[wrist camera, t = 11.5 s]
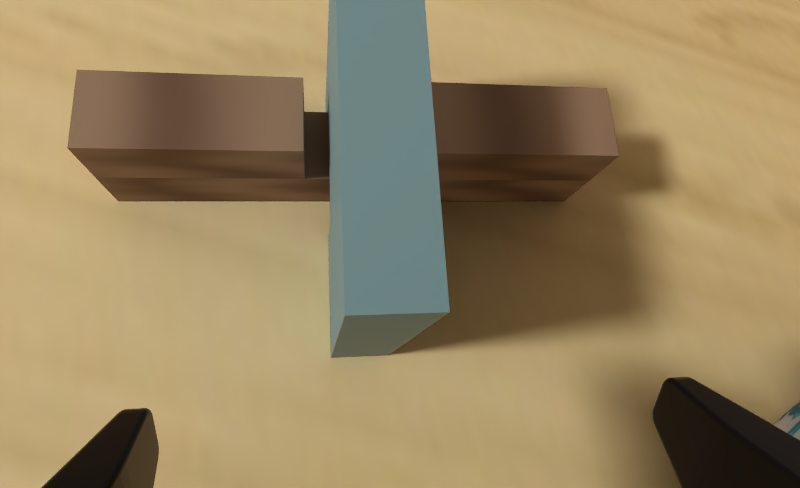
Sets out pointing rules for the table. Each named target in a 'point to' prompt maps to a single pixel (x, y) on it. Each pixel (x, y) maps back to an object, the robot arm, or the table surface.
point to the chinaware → (790, 422)
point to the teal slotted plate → (382, 178)
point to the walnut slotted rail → (324, 138)
